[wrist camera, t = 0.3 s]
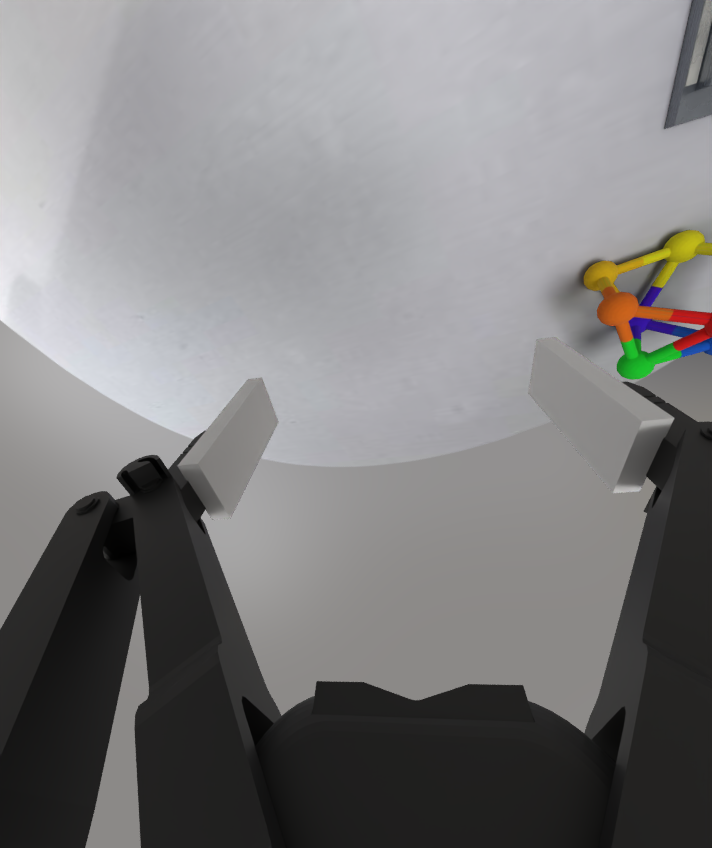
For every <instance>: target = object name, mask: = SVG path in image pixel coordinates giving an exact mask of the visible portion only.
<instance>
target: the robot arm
mask: <svg viewBox="0 0 712 848" xmlns="http://www.w3.org/2000/svg"><path fill="white" fill-rule="evenodd" d="M528 394H529V395H530V396H531V397H532V399H533V400H534V401H535V402H536V403H537V405H538V406H539V407H540V408H541V409H542V410H543V412H544V413H545V414H546V415H547V416H548V418H549V419H550V420H551V421H552V422H553V423H554V425H555V426H556V427H557V428H558V429H559V430H560V432H561V433H562V434H563V435H564V436H565V438H566V439H567V440H568V441H569V442H570V443H571V445H572V446H573V447H574V448H575V449H576V451H577V452H578V453H579V454H580V455H581V456H582V457H583V459H584V460H585V461H586V462H587V463H588V465H589V466H590V467H591V468H592V469H593V470H594V472H595V473H596V474H597V475H598V476H599V478H600V479H601V480H602V481H603V482H604V483H605V485H606V486H607V487H608V488H609V489H610V491H611V492H612V493H623V492H638V491H640V490H641V488H642V485H643V483H644V481H645V479H646V477H648V478H649V479H650V480H651V481H652V482H653V483H654V484H655V485H656V488H655V490H654V492H653V494H652V496H651V498H650V500H649V502H648V504H647V506H646V508H645V510H644V512H646V513H647V516H646V520H645V523H644V527H643V531H642V535H641V539H640V542H639V546H638V550H637V554H636V557H635V561H634V565H633V569H632V573H631V576H630V580H629V584H628V588H627V591H626V595H625V599H624V603H623V606H622V610H621V614H620V618H619V621H618V626H617V629H616V633H615V637H614V641H613V644H612V648H611V652H610V656H609V659H608V663H607V668H606V670H605V674H604V678H603V682H602V686H601V689H600V693H599V696H598V699H597V701H596V704H595V706H594V708H593V711H592V713H591V715H590V718H589V721H588V724H587V727H586V730H585V733H583V732H581V731H580V730H579V729H578V728H576V727H575V726H573V725H572V724H571V723H570V722H568V721H567V720H565V719H563V718H562V717H560V716H558V715H557V714H555V713H554V712H552V711H550V710H548V709H546V708H544V707H542V706H539V705H537V704H535V703H532V702H529V701H528V700H527V697H526V694H525V690H524V687H523V685H480V684H479V685H478V684H468V685H465V686H462V687H459V688H456V689H453V690H450V691H447V692H444V693H441V694H438V695H434V696H431V697H428V698H425V699H423V700H416V701H415V700H411V699H408V698H405V697H402V696H400V695H397V694H394V693H392V692H389V691H386V690H383V689H381V688H378V687H375V686H372V685H369V684H367V683H364V682H322V681H317V683H316V690H315V696H314V697H311V698H308V699H306V700H305V701H303V702H301V703H299V704H297V705H296V706H294V707H293V708H291V709H290V710H288V711H287V712H286V713H285V714H284V715H282V716H281V714H280V712H279V710H278V707H277V706H276V704H275V702H274V700H273V698H272V697H271V695H270V694H269V691H268V689H267V687H266V684H265V682H264V679H263V677H262V674H261V672H260V669H259V666H258V664H257V661H256V658H255V656H254V653H253V651H252V648H251V645H250V642H249V640H248V637H247V635H246V632H245V629H244V626H243V624H242V621H241V619H240V616H239V613H238V611H237V608H236V606H235V603H234V600H233V597H232V595H231V592H230V589H229V587H228V584H227V582H226V579H225V576H224V574H223V571H222V568H221V566H220V563H219V561H218V558H217V555H216V553H215V550H214V547H213V545H212V542H211V539H210V537H209V534H208V532H207V529H206V526H205V524H204V522H203V521H202V519H201V518H200V517H201V515H202V514H203V512H204V511H205V509H206V511H207V512H208V514H209V515H210V517H211V518H212V519H229V518H231V517H232V514H233V513H234V511H235V508H236V506H237V505H238V502H239V501H240V499H241V496H242V495H243V492H244V490H245V488H246V486H247V484H248V482H249V480H250V478H251V476H252V474H253V472H254V470H255V468H256V466H257V464H258V462H259V460H260V458H261V456H262V454H263V452H264V450H265V448H266V446H267V444H268V442H269V440H270V438H271V436H272V434H273V432H274V430H275V428H276V426H277V424H278V419H277V417H276V414H275V411H274V409H273V406H272V403H271V401H270V398H269V395H268V393H267V390H266V387H265V385H264V382H263V379H262V378H255V379H248V380H247V381H246V382H245V384H244V385H243V386H242V387H241V389H240V390H239V391H238V392H237V393H236V395H235V396H234V397H233V398H232V400H231V401H230V402H229V403H228V404H227V406H226V407H225V408H224V409H223V411H222V412H221V413H220V414H219V415H218V417H217V418H216V419H215V420H214V422H213V423H212V424H211V425H210V426H209V428H208V429H207V430H206V431H204V432H202V433H201V434H200V435H198V436H197V437H196V438H194V440H193V441H192V442H191V443H190V444H189V446H188V447H187V448H186V449H185V450H184V452H183V454H181V455H180V456H179V457H178V459H177V460H176V461H175V462H174V463H173V465H172V466H171V467H170V468H169V469H167V468H166V466H165V465H164V463H163V462H162V460H161V459H160V458H159V457H158V456H157V455H149V456H145V457H142V458H139V459H137V460H135V461H133V462H131V463H129V464H128V465H127V466H125V467H124V468H123V469H122V470H121V471H120V472H119V473H118V475H117V479H118V480H119V482H120V483H121V484H122V485H123V487H124V488H125V489H126V490H127V491H128V493H129V494H130V496H127V497H124V498H121V499H117V500H115V499H114V498H113V497H112V496H111V495H110V494H109V493H108V492H105V491H101V492H97V493H93V494H91V495H89V496H85V497H84V498H82V499H80V500H79V501H77V502H76V503H75V504H74V505H73V506H72V507H71V508H70V509H69V510H68V511H67V513H66V514H65V516H64V518H63V519H62V521H61V523H60V524H59V526H58V528H57V530H56V532H55V533H54V535H53V537H52V539H51V540H50V542H49V544H48V546H47V548H46V549H45V551H44V553H43V555H42V556H41V558H40V560H39V562H38V564H37V565H36V567H35V569H34V571H33V572H32V574H31V576H30V578H29V580H28V581H27V583H26V585H25V587H24V589H23V590H22V592H21V594H20V596H19V597H18V599H17V601H16V603H15V605H14V606H13V608H12V610H11V612H10V613H9V615H8V617H7V619H6V620H5V622H4V624H3V626H2V628H1V629H0V848H85V846H86V842H87V838H88V834H89V830H90V826H91V821H92V818H93V814H94V810H95V805H96V801H97V796H98V791H99V786H100V781H101V777H102V772H103V767H104V762H105V758H106V753H107V748H108V743H109V739H110V734H111V729H112V724H113V720H114V715H115V711H116V706H117V701H118V696H119V692H120V687H121V682H122V677H123V673H124V668H125V663H126V658H127V654H128V649H129V644H130V639H131V635H132V629H133V625H134V620H135V615H136V611H137V606H138V601H139V596H141V606H142V617H143V628H144V639H145V649H146V660H147V670H148V681H149V696H148V699H147V700H146V701H144V702H143V703H142V704H140V706H138V709H137V712H136V715H135V744H136V762H137V781H138V800H139V819H140V836H141V837H140V838H141V848H712V422H697V421H695V420H694V419H692V418H691V417H689V416H687V415H686V414H684V413H683V412H681V411H680V410H678V409H677V408H675V407H674V406H672V405H670V404H669V403H665V401H664V400H662V399H661V398H659V397H656V396H655V394H653V393H652V392H650V391H649V390H647V389H645V388H644V387H641V386H638V385H635V384H633V383H630V382H621V381H619V380H618V379H616V378H615V377H613V376H612V375H610V374H609V373H607V372H606V371H604V370H603V369H601V368H600V367H599V366H597V365H596V364H594V363H593V362H591V361H590V360H588V359H587V358H585V357H584V356H582V355H581V354H579V353H578V352H576V351H575V350H573V349H572V348H570V347H569V346H567V345H566V344H564V343H563V342H562V341H560V340H559V339H557V338H556V337H552V338H544V339H537V340H536V346H535V353H534V359H533V366H532V372H531V379H530V385H529V392H528Z"/></svg>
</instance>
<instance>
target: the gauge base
mask: <svg viewBox="0 0 712 848" xmlns="http://www.w3.org/2000/svg"><path fill="white" fill-rule="evenodd" d="M711 114H712V0H693V1H692V6H691V10H690V15H689V19H688V24H687V29H686V33H685V38H684V42H683V47H682V51H681V56H680V60H679V65H678V69H677V74H676V78H675V83H674V88H673V92H672V97H671V101H670V106H669V110H668V115H667V119H666V124H665V128H669V127H672V126H675V125H678V124H682V123H685V122H688V121H692V120H695V119H698V118H701V117H705V116H708V115H711ZM665 128H664V129H665Z"/></svg>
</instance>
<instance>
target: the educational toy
mask: <svg viewBox="0 0 712 848" xmlns="http://www.w3.org/2000/svg"><path fill="white" fill-rule="evenodd" d="M697 254H701V255H712V243H705V239H704V235H703V234H701V233H700V232H699V231H696V230H686V231H683V232H680V233H677V234H676V235H674V236H673V237H671V238H670V239H669V240H668V242H667V243H666V244H665V246H664V248H663V249H661V250H659V251H656V252H653V253H650V254H647V255H645V256H642V257H639V258H636V259H633V260H630V261H628V262H625V263H622V264H619V265H615V264H614V263H613V262H611V261H600V262H597V263H595V264H593V265H592V266H591V267H589V269H588V270H587V271H586V272H585V275H584V284H585V286H586V287H587V288H588V289H590V290H593V291H598V290H601V293H602V295H603V297H604V300H603V301H602V302H601V303H600V304H599V307H598V309H597V316H598V318H599V320H600V321H601V322H602V323H603V324H606V325H609V326H616V329H617V332H618V335H619V338H620V341H621V344H622V347H623V350H624V353H625V355H623V356H622V357H621V358H620V359H619V361H618V363H617V371H618V373H619V374H620V375H621V376H622V377H624V378H627V379H640V378H643V377H645V376H647V375H648V374H650V373H651V372H652V370H653V369H654V366H655V364H659V363H663V362H666V361H670V360H674V359H677V358H681V357H685V356H688V355H692V354H695V353H699V352H703V351H704V352H705V353H707V354H709V355H712V313H707V312H697V311H687V310H677V309H667V308H657V307H651V305H652V304H653V302H654V301H655V299H656V297H657V296H658V294H659V293H660V291H661V290H662V288H663V287H664V285H665V284H666V282H667V281H668V279H669V278H670V276H671V275H672V273H673V272H674V270H675V268H676V267H677V265H678V264H679V263H682V262H686V261H688V260H690V259H692V258H693V257H695V256H696V255H697ZM662 259H665V260H666V261H667V263H666V264H665V266H664V267H663V269H662V271H661V272H660V274H659V275H658V277H657V278H656V280H655V282H654V283H653V285H652V286H651V288H650V289H649V291H648V293H647V294H646V296H645V297H644V299H643V300H642V302H641V304H640V305H639V304H638V300H637V298H636V297H635V296H633V295H632V294H631V293H626V292H620V291H619V290H618V289H617V287H616V286H615V285H614V281H615V280H616V278H617V276H618V275H619V274H621V273H624V272H627V271H630V270H633V269H636V268H639V267H642V266H645V265H647V264H650V263H653V262H656V261H659V260H662ZM652 319H655V320H664V321H672V322H681V323H690V324H698V325H705V327H704V328H703V329H701V330H695V329H690V328H686V327H681V326H676V325H671V324H667V323H662V322H657V321H652ZM646 329H648V330H652V331H657V332H661V333H665V334H670V335H674V336H678V337H683V338H681V339H679V340H677V341H675V342H673V343H671V344H668V345H666V346H664V347H662V348H660V349H658V350H655V351H653V352H651V353H647V352H645V351H641V333H642V332H644V331H645V330H646Z"/></svg>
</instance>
